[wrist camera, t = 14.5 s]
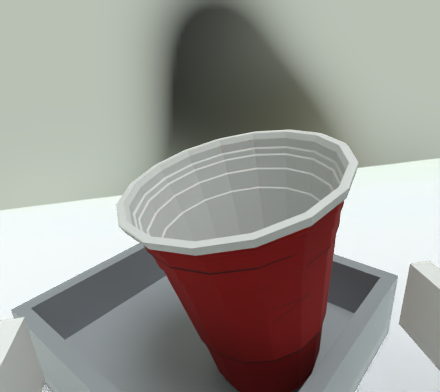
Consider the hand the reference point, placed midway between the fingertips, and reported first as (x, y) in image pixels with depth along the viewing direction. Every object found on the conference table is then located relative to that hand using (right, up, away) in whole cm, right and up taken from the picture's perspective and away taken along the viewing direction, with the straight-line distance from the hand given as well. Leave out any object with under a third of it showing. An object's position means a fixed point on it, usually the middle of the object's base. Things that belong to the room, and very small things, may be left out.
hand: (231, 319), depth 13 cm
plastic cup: (+2, -5, +9) cm, 10 cm away
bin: (-1, -6, +11) cm, 13 cm away
